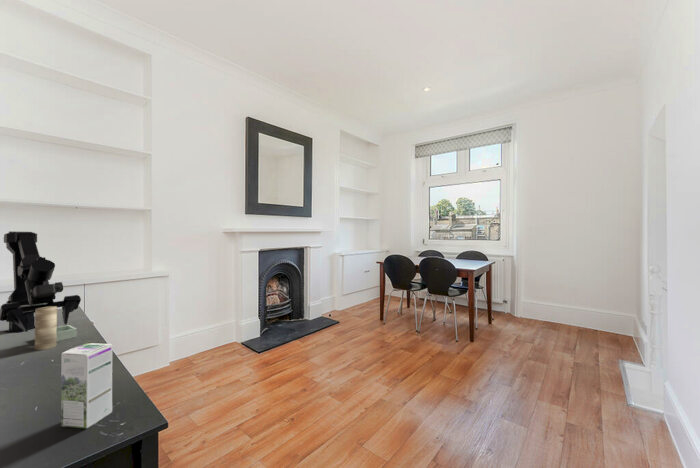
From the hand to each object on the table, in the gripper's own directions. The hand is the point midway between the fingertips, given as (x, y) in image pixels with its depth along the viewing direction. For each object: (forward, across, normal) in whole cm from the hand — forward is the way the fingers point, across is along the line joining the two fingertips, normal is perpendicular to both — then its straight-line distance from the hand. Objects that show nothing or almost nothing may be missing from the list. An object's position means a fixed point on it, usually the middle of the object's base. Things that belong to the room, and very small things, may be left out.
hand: (47, 327), depth 97 cm
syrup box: (+48, -6, -38) cm, 61 cm away
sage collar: (-3, +5, +12) cm, 13 cm away
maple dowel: (+4, 0, +6) cm, 7 cm away
